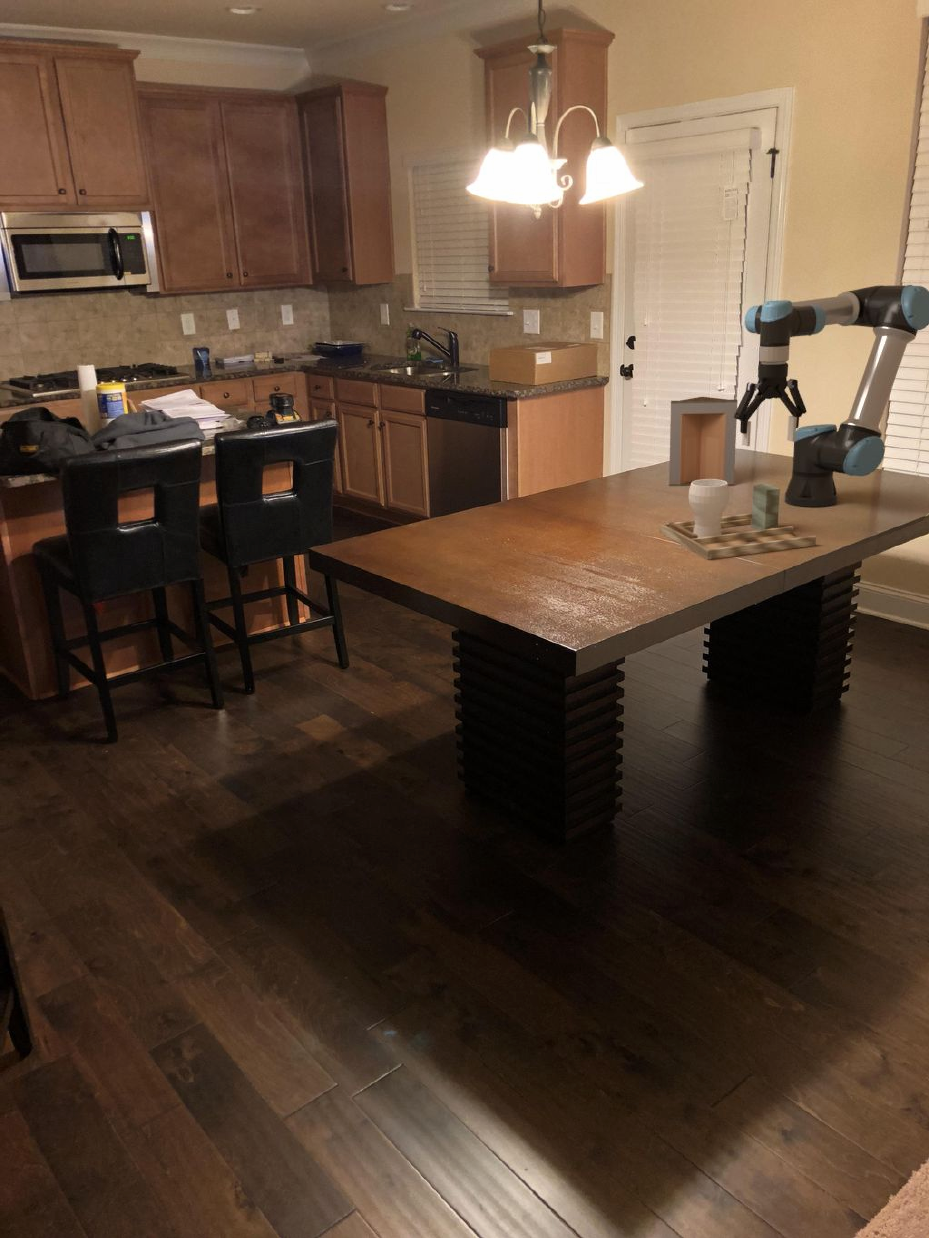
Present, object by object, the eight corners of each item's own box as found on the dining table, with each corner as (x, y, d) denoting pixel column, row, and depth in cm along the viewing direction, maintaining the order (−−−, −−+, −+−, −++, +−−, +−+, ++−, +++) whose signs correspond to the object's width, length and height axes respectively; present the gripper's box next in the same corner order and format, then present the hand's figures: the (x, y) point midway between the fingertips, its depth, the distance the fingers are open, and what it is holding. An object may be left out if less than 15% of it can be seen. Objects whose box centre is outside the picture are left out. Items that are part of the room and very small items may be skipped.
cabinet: (669, 486, 327) (671, 401, 317) (669, 479, 336) (671, 397, 326) (733, 486, 322) (737, 400, 313) (732, 479, 331) (736, 395, 321)
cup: (728, 542, 262) (730, 487, 257) (687, 541, 264) (689, 487, 259) (726, 531, 272) (728, 478, 267) (687, 531, 274) (688, 478, 269)
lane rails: (759, 520, 281) (759, 512, 280) (815, 545, 255) (816, 536, 254) (659, 532, 274) (660, 524, 273) (707, 559, 248) (707, 550, 248)
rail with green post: (756, 522, 279) (758, 481, 275) (785, 534, 266) (787, 491, 262) (668, 533, 273) (669, 491, 269) (693, 546, 260) (694, 502, 256)
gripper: (807, 357, 262) (801, 436, 270) (723, 364, 257) (719, 445, 264) (823, 360, 256) (817, 441, 263) (737, 367, 250) (733, 449, 257)
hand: (768, 443), depth 264 cm, fingers open, 13 cm apart
